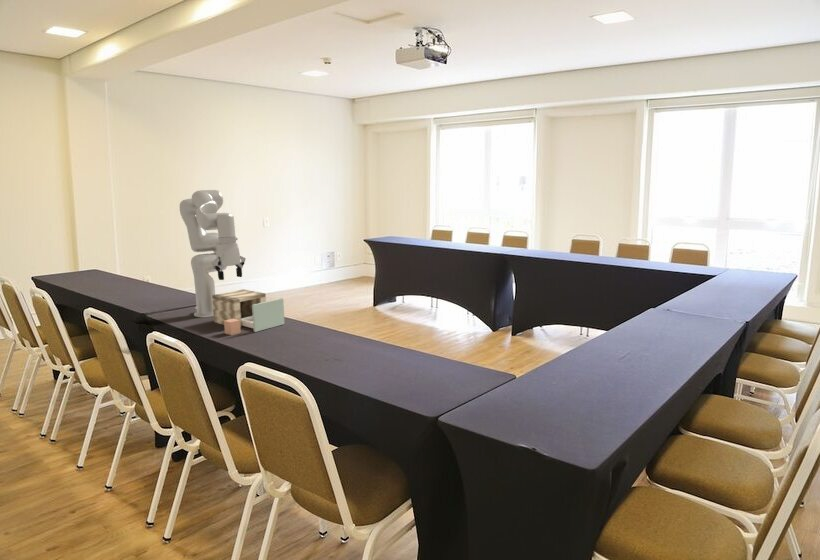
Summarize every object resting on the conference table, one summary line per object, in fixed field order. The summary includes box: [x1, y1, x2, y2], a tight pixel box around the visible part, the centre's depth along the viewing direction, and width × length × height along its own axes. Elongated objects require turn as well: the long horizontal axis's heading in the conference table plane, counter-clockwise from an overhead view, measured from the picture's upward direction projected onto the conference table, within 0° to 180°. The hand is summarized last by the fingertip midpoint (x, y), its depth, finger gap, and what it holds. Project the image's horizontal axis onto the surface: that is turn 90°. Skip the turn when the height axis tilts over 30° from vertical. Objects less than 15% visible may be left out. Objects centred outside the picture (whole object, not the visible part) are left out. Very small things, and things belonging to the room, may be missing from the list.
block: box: [223, 319, 242, 336], centre depth 262 cm, size 5×5×6 cm
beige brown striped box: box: [212, 288, 267, 328], centre depth 282 cm, size 18×18×14 cm
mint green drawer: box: [241, 298, 285, 333], centre depth 273 cm, size 17×17×12 cm
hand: (230, 278), depth 263 cm, fingers open, 9 cm apart
